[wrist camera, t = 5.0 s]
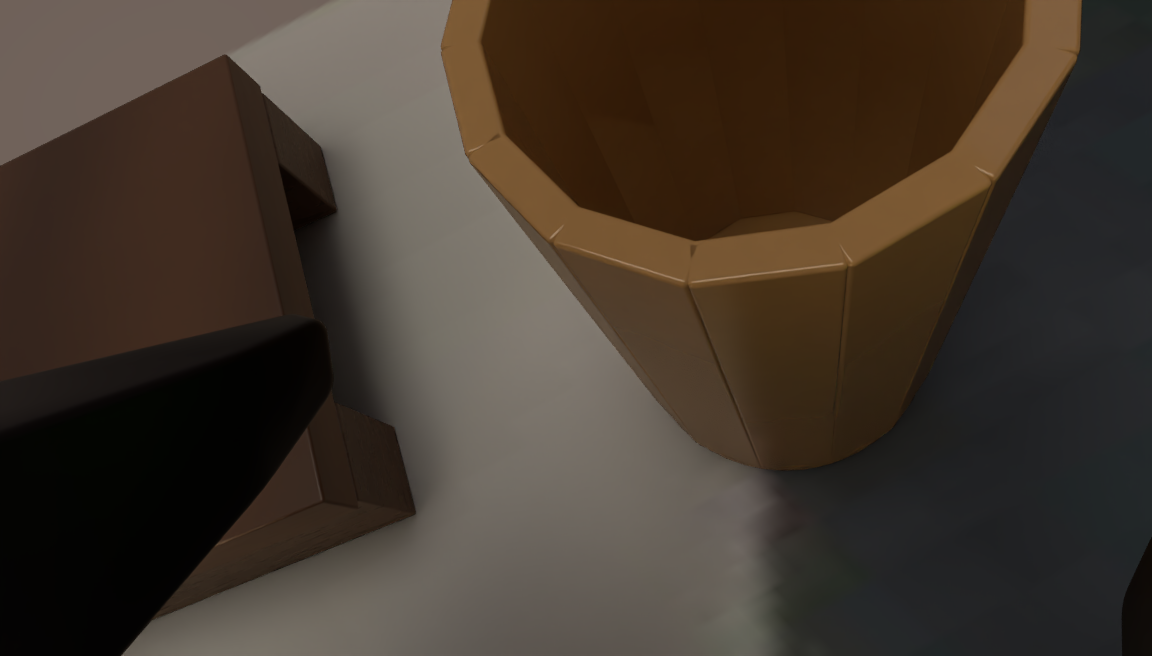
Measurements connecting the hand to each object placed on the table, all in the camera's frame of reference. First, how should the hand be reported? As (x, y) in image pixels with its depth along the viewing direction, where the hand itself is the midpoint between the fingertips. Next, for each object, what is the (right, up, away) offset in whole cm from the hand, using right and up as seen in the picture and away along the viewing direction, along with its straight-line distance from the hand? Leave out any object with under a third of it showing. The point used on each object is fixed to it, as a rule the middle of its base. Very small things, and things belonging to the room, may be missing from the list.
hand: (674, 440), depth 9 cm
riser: (-12, -1, +15) cm, 20 cm away
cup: (+4, +1, +11) cm, 12 cm away
